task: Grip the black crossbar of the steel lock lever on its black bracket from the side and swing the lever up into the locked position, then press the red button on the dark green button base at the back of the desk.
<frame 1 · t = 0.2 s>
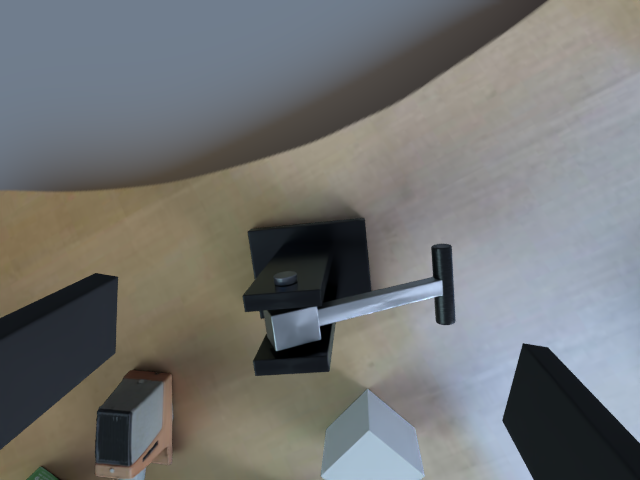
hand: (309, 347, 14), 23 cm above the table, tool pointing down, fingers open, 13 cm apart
electronic device: (154, 412, 42), on the table
lock bracket: (312, 267, 37), on the table
lock lever: (367, 303, 27), point 10 cm above the table, hinge at -25.0°
white cube: (370, 427, 40), on the table
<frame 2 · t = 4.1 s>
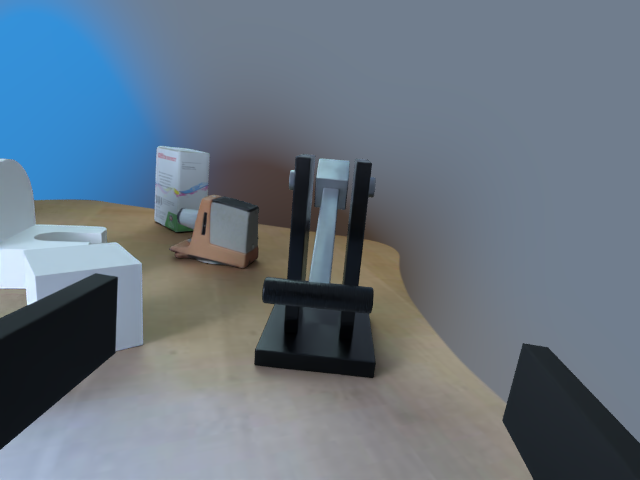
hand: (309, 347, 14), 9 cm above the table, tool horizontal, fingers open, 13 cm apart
electronic device: (214, 260, 50), on the table
ink box: (180, 227, 65), on the table
lock bracket: (318, 337, 33), on the table
lock lever: (326, 226, 26), point 10 cm above the table, hinge at -25.0°
white cube: (85, 340, 30), on the table
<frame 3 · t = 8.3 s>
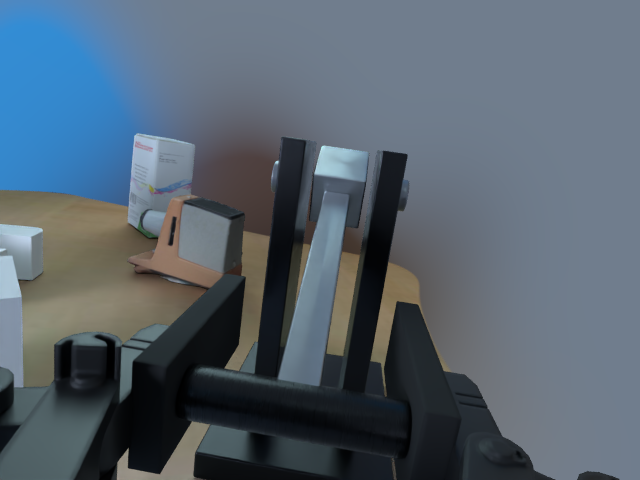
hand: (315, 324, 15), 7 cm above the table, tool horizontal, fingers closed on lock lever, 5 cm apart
electronic device: (184, 278, 40), on the table
ink box: (157, 231, 55), on the table
lock bracket: (305, 418, 22), on the table
lock lever: (325, 258, 15), point 10 cm above the table, hinge at -25.0°, touching gripper
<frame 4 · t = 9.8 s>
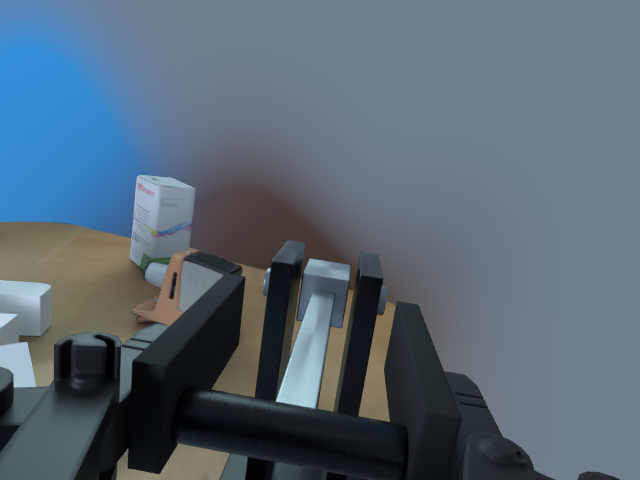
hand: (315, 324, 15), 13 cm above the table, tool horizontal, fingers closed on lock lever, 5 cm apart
electronic device: (184, 326, 42), on the table
ink box: (158, 268, 57), on the table
lock lever: (314, 334, 16), point 12 cm above the table, hinge at 0.8°, touching gripper
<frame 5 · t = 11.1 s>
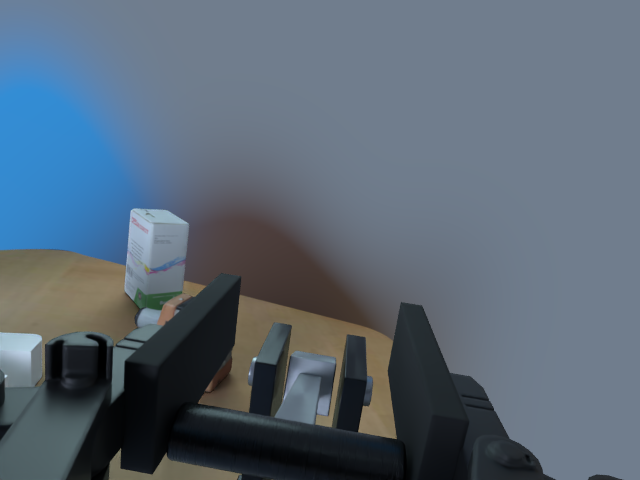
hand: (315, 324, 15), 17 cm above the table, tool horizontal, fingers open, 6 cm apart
electronic device: (177, 372, 42), on the table
ink box: (153, 301, 57), on the table
lock lever: (303, 401, 16), point 14 cm above the table, hinge at 22.6°
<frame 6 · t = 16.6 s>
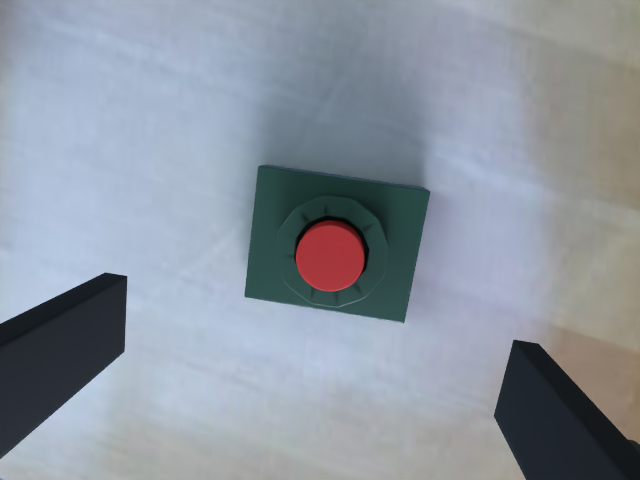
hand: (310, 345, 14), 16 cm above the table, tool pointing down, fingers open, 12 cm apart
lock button: (330, 255, 25), point 4 cm above the table, slide at 0.1 cm
dark green button base: (334, 239, 30), on the table
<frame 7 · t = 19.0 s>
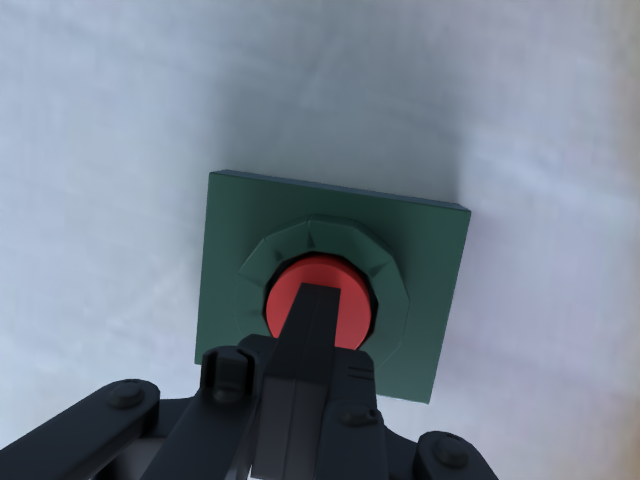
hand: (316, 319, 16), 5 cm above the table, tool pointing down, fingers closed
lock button: (319, 306, 17), point 4 cm above the table, slide at -0.6 cm, touching gripper
dark green button base: (326, 278, 21), on the table
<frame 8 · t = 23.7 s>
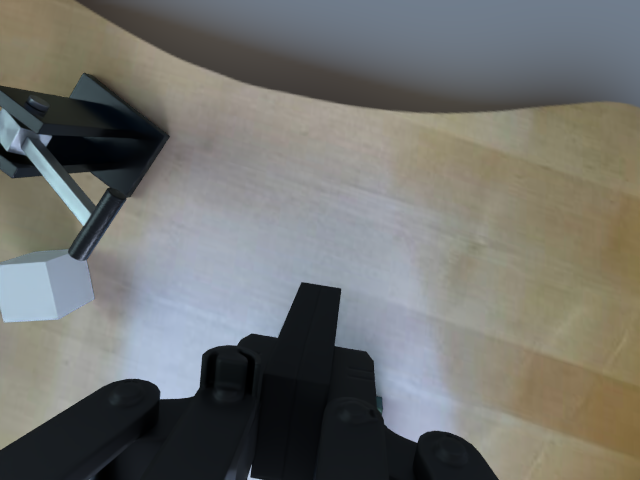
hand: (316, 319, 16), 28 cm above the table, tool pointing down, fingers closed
lock bracket: (111, 137, 44), on the table
lock lever: (54, 173, 31), point 14 cm above the table, hinge at 22.6°
white cube: (66, 274, 48), on the table
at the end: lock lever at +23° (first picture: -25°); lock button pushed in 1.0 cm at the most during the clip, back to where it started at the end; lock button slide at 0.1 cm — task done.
